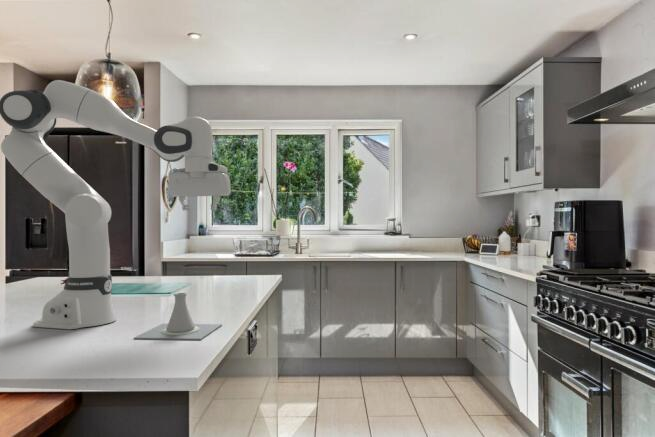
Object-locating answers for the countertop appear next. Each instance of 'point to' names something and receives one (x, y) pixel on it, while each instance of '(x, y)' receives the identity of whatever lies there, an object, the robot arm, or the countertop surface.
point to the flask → (180, 315)
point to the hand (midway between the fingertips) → (199, 210)
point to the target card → (179, 333)
